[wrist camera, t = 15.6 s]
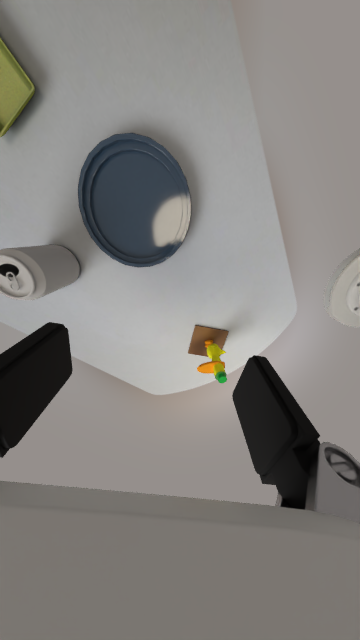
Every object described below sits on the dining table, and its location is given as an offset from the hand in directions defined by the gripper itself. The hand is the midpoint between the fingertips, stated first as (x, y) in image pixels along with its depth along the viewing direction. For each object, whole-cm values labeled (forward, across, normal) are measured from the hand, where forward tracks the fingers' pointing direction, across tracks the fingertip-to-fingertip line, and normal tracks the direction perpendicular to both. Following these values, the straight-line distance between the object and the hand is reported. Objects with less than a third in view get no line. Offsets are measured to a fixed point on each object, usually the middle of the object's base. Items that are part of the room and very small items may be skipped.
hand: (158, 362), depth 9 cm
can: (+29, +22, +4) cm, 36 cm away
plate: (+28, +8, -8) cm, 31 cm away
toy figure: (+28, -11, +16) cm, 34 cm away
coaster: (+28, -11, +16) cm, 34 cm away
